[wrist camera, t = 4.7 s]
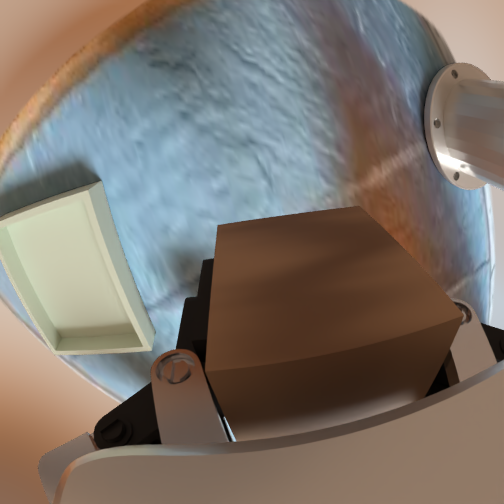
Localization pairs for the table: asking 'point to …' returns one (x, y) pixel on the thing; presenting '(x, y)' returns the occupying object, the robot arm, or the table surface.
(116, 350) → the parts tray
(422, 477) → the robot arm
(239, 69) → the table surface
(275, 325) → the walnut block
